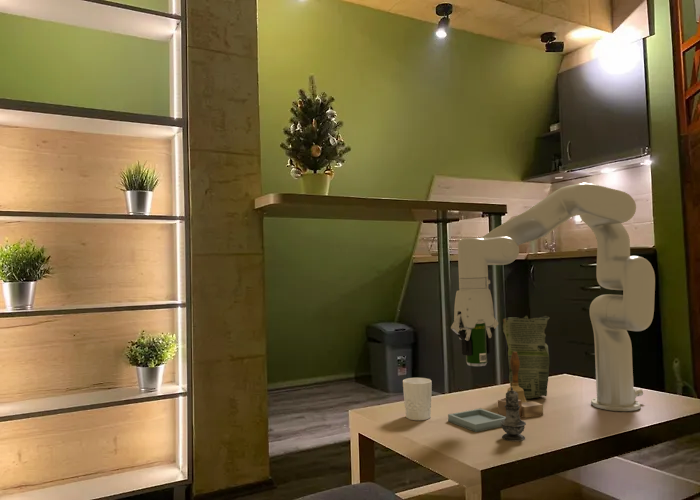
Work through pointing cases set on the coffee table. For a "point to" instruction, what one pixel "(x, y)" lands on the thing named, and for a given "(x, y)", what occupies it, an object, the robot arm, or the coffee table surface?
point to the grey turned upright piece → (512, 418)
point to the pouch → (529, 353)
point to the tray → (476, 419)
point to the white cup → (417, 398)
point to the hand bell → (516, 377)
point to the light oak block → (532, 409)
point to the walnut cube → (503, 410)
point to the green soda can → (478, 345)
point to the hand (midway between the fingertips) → (476, 353)
